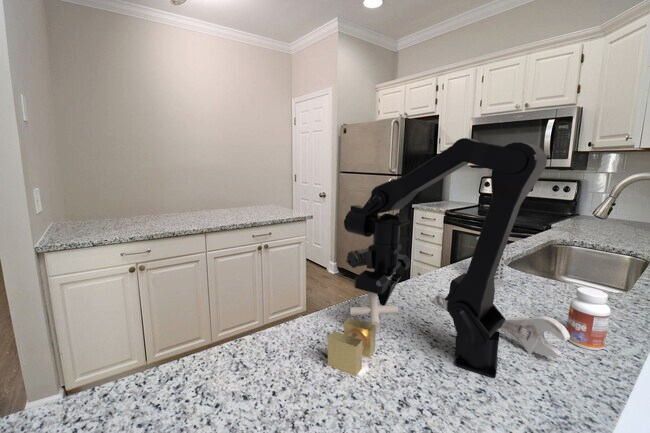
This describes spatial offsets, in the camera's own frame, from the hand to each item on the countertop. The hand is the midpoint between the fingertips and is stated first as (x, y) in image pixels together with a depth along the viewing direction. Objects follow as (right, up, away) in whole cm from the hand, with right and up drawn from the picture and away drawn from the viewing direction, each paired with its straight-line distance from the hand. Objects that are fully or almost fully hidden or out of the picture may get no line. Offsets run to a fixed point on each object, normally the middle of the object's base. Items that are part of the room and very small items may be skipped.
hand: (382, 305), depth 71 cm
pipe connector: (-2, -4, -4) cm, 7 cm away
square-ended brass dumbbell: (-8, -6, -14) cm, 17 cm away
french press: (+38, 0, +24) cm, 45 cm away
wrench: (+23, -5, -4) cm, 23 cm away
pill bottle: (+40, -5, -8) cm, 41 cm away
